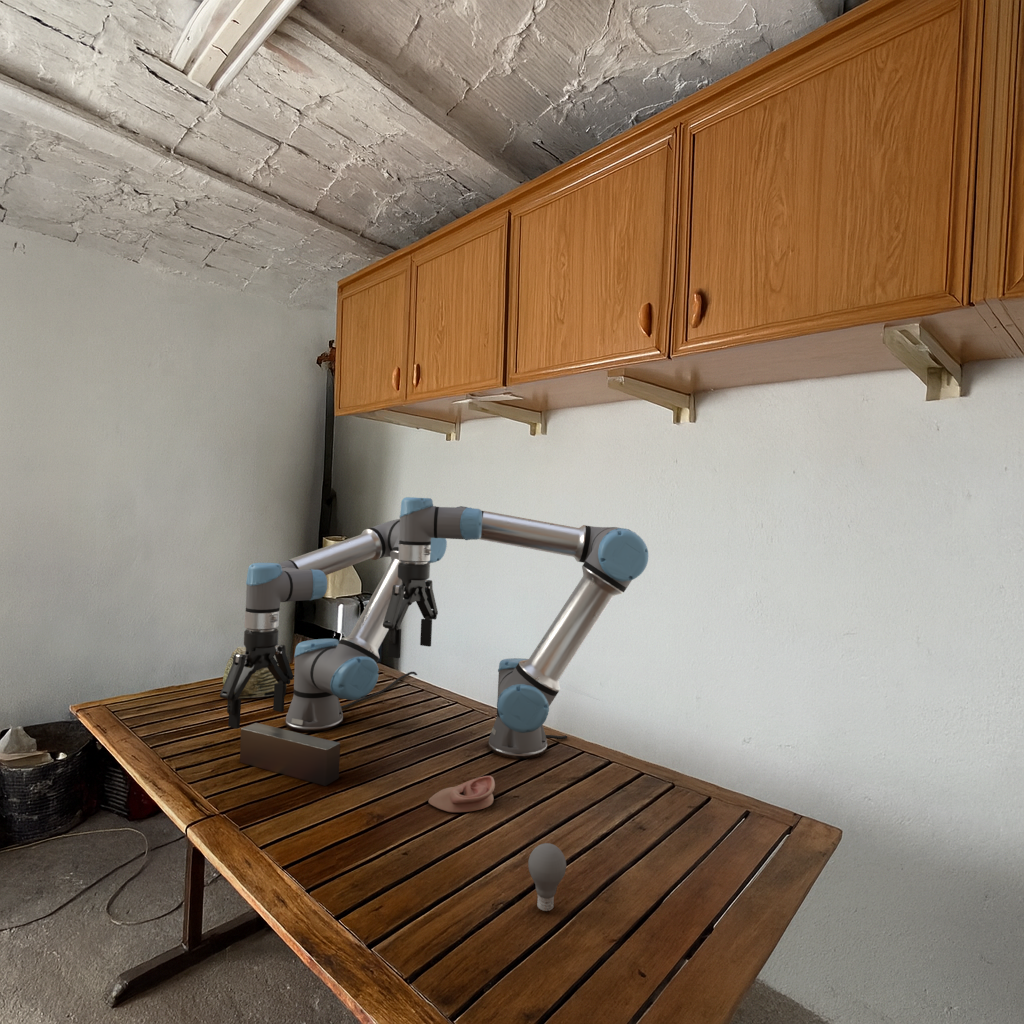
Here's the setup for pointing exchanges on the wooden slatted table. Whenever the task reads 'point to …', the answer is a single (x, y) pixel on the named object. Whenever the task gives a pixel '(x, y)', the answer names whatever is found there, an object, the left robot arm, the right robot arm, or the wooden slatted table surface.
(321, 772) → the bar
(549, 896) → the light bulb
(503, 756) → the right robot arm
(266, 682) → the fossil
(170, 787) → the wooden slatted table surface
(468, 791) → the anatomical model
